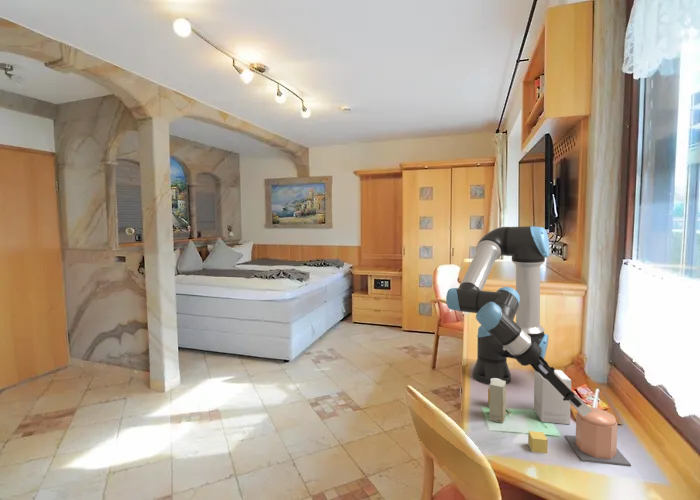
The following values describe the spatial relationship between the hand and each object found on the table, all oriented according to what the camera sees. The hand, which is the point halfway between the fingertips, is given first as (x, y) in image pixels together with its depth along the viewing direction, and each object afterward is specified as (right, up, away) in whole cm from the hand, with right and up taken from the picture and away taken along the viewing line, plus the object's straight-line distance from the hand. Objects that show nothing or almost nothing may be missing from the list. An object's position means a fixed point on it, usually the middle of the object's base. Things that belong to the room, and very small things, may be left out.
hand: (576, 401), depth 105 cm
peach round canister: (+5, -14, 0) cm, 15 cm away
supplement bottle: (-13, -13, +26) cm, 32 cm away
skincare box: (-15, -13, +18) cm, 27 cm away
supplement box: (+3, -13, +19) cm, 23 cm away
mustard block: (-11, -14, +1) cm, 18 cm away
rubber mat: (+5, -14, 0) cm, 15 cm away
